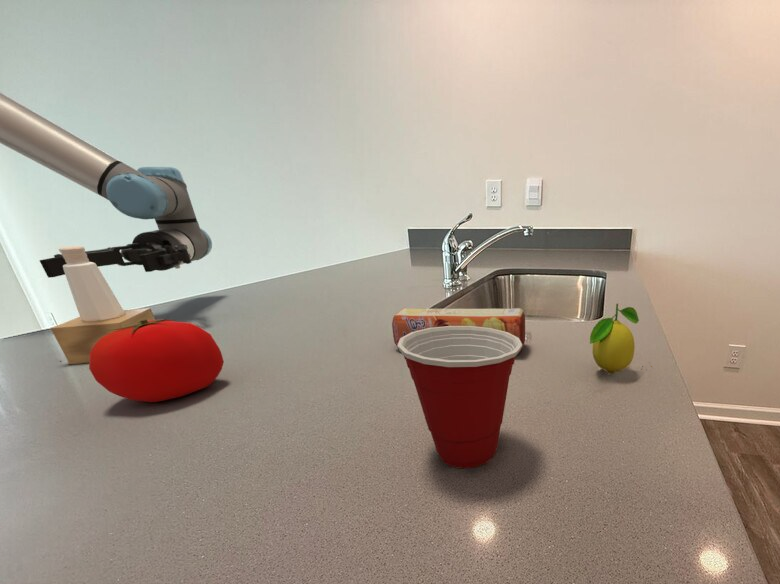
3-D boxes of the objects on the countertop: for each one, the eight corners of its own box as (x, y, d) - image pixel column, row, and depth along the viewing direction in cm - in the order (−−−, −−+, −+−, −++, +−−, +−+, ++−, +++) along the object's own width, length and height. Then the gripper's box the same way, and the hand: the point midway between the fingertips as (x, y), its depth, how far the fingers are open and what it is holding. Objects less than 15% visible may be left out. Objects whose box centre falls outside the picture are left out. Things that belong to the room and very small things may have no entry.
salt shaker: (71, 321, 64) (34, 249, 60) (107, 312, 69) (75, 244, 64) (100, 322, 64) (65, 249, 59) (134, 313, 68) (104, 244, 64)
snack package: (392, 352, 66) (385, 311, 63) (409, 339, 72) (403, 301, 69) (521, 359, 62) (521, 316, 59) (528, 344, 68) (527, 304, 65)
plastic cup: (546, 451, 40) (548, 336, 35) (455, 503, 34) (441, 372, 29) (479, 412, 48) (473, 312, 42) (395, 449, 41) (375, 336, 36)
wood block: (69, 364, 64) (50, 328, 61) (105, 345, 72) (89, 312, 69) (136, 358, 66) (119, 322, 63) (164, 340, 74) (150, 308, 71)
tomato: (235, 393, 54) (208, 317, 49) (106, 425, 47) (61, 341, 42) (226, 367, 62) (202, 300, 57) (116, 391, 55) (79, 317, 50)
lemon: (633, 365, 59) (641, 297, 55) (638, 383, 54) (648, 309, 49) (586, 364, 60) (591, 296, 56) (587, 381, 55) (592, 308, 50)
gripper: (235, 264, 89) (191, 283, 71) (101, 271, 84) (16, 294, 65) (224, 227, 86) (175, 238, 67) (84, 233, 81) (-11, 246, 62)
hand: (96, 266), depth 66 cm, fingers open, 13 cm apart
